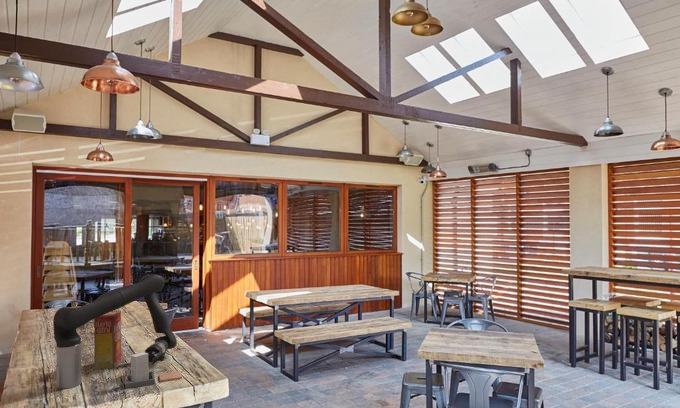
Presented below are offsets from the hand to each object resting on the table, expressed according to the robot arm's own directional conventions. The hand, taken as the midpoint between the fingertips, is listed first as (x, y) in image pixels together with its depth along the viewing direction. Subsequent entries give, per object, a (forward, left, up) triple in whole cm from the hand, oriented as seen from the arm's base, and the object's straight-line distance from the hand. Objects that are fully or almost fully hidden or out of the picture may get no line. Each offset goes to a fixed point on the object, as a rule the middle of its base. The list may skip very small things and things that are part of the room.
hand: (143, 362), depth 210 cm
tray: (-1, -4, -7) cm, 8 cm away
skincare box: (-1, -4, -7) cm, 8 cm away
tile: (+11, -4, -7) cm, 14 cm away
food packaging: (-15, +31, -7) cm, 35 cm away
